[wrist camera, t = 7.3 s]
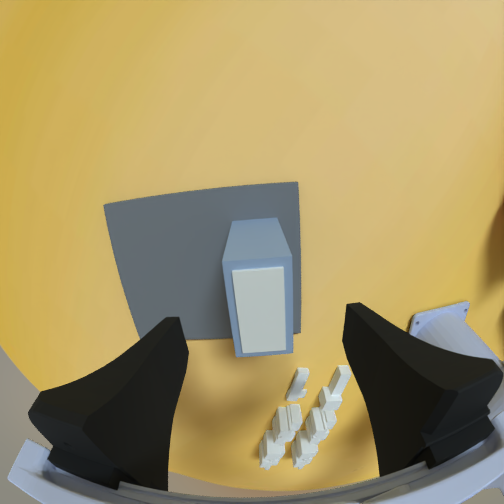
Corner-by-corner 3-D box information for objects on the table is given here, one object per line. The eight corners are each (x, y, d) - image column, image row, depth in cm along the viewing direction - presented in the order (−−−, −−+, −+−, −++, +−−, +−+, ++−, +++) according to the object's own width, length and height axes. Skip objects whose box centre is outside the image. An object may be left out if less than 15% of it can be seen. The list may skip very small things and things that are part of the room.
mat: (299, 329, 22) (300, 332, 21) (141, 336, 22) (140, 338, 22) (297, 181, 18) (298, 182, 17) (105, 204, 18) (103, 205, 18)
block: (280, 290, 20) (293, 355, 13) (240, 293, 20) (235, 359, 13) (277, 217, 18) (292, 257, 11) (232, 221, 18) (221, 263, 11)
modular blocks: (306, 446, 30) (309, 468, 26) (257, 446, 30) (258, 470, 26) (357, 346, 23) (371, 374, 20) (288, 344, 23) (294, 376, 19)
